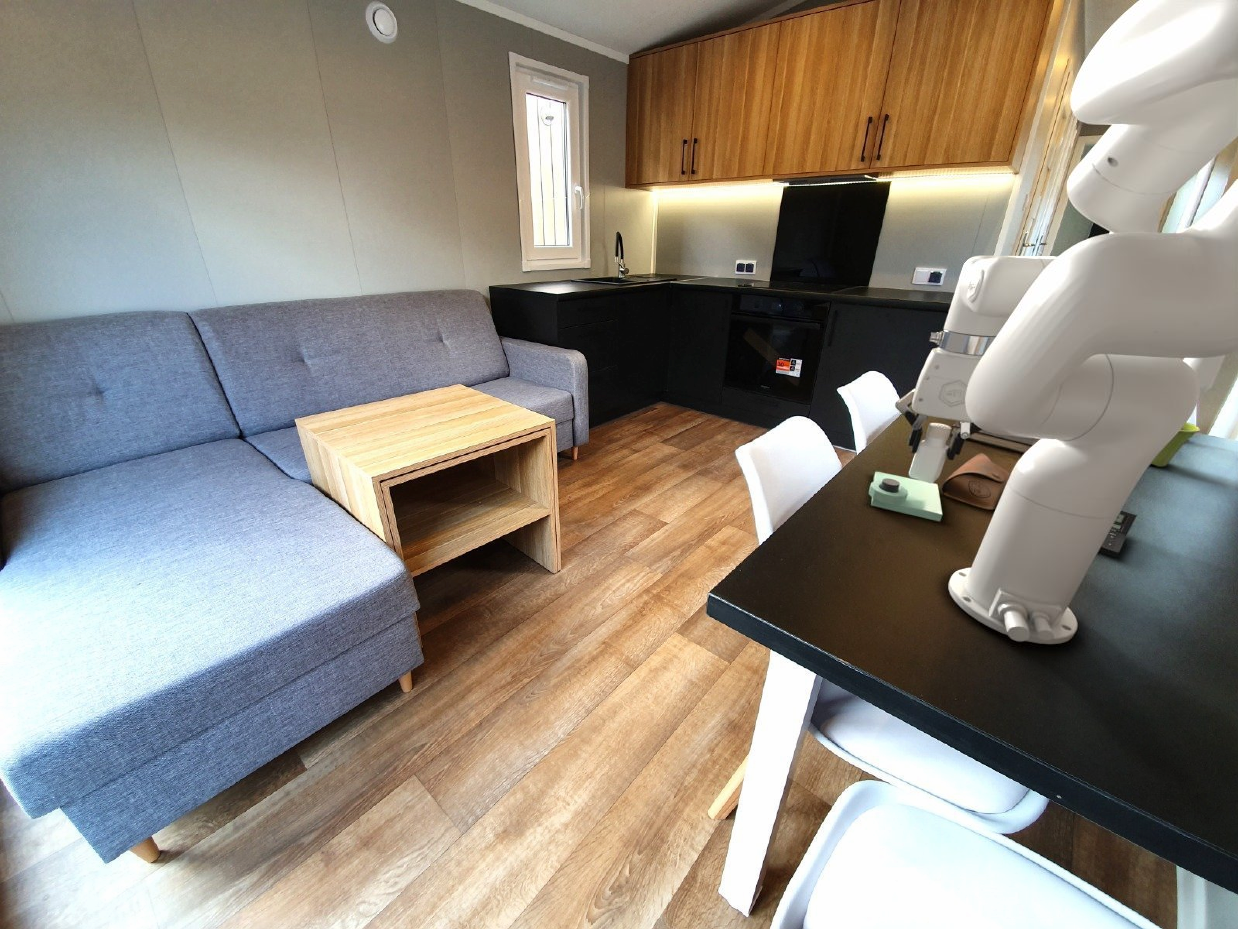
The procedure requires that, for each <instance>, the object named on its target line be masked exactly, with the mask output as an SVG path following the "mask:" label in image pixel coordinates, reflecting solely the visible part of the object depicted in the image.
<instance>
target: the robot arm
mask: <svg viewBox="0 0 1238 929" xmlns="http://www.w3.org/2000/svg"><path fill="white" fill-rule="evenodd" d="M1070 109H1071V111H1072V115H1073V117H1074V118H1076V119H1077V121H1079V122H1082V123H1084V124H1087V125H1103V126H1104V125H1106V126H1110V127H1109V128H1108V129H1107V130H1106V131H1105V132H1104V133H1103V135H1102V136H1101V137H1100V138H1099V139H1098V141H1097V142H1096V143H1095V145H1094V146H1092V148H1091V149H1090V150H1089V151H1088V152H1087V153H1086V155H1085V156H1084V157H1083V158H1082V159H1081V160H1080V162H1079V163H1078V164H1077V165H1076V166H1075V167H1074V168H1073V170H1072V172H1071V173H1070V175H1069V177H1068V179H1067V183H1066V194H1067V197H1068V199H1069V202H1070V203H1071V205H1072V206H1073V207H1074V208H1075V210H1077V212H1079V213H1080V214H1081V215H1082V216H1083V217H1085V218H1086V219H1087V220H1089V221H1090V222H1093V223H1094V224H1096V225H1098V226H1099V227H1101V228H1103V229H1105V230H1107V231H1108V232H1109V233H1104V234H1100V235H1095V236H1092V237H1089V238H1087V239H1084V240H1082V241H1079V242H1077V243H1076V244H1074V245H1072V246H1071V247H1069V248H1067V249H1066V250H1064V251H1063V252H1062V253H1061V254H1060V255H1058V256H1040V255H1039V256H1037V255H1034V256H1033V255H1032V256H1029V255H1028V256H1027V255H974V256H971V257H970V258H968V259H967V260H966V261H965V263H964V264H963V266H962V269H961V271H960V274H959V278H958V281H957V284H956V286H955V290H954V294H953V297H952V300H951V304H950V307H949V309H948V314H947V316H946V319H945V322H944V325H943V328H942V330H940V331H939V332H931V333H930V335H929V338H928V342H930V343H931V342H933V343H934V344H936V346H937V347H935V348H932V349H931V350H930V353H929V354H928V356H927V358H926V360H925V363H924V364H923V367H922V369H921V371H920V374H919V376H918V379H917V381H916V384H915V387H914V388H913V389H912V390H910V391H909V392H907V394H905V395H904V396H901V398H899V399H898V400H897V401H896V402H895V404H894V407H895V408H896V410H897V411H898V412H899V413H900V414H901V415H902V416H904V418H905V420H906V421H907V422H908V423H909V425H910V426H911V432H910V433H909V434H910V435H909V438H908V440H907V446H908V447H909V446H910V453H911V454H915V453H916V452H917V449H918V446H919V443H920V442H921V441H922V440H921V439H922V436H923V433H924V431H923V426H924V424H925V422H926V421H927V419H928V418H929V417H933V418H939V419H946V420H952V421H956V422H958V421H959V429H958V430H957V432H955V433H954V434H953V435H951V436H952V437H951V439H950V442H949V445H948V446H949V451H948V453H947V457H946V458H947V460H948V461H954V460H955V457H956V455H957V456H959V455H961V452H962V450H963V447H964V443H965V442H966V440H967V439H966V438H968V437H969V436H970V435H972V434H974V433H976V432H978V431H980V430H982V429H983V430H985V431H988V432H991V433H994V434H999V435H1006V436H1015V437H1026V438H1038V439H1040V440H1039V441H1038V442H1037V443H1035V444H1034V445H1033V446H1032V447H1031V448H1030V449H1029V450H1028V451H1027V452H1025V453H1024V454H1022V456H1021V457H1020V458H1019V459H1018V460H1017V462H1016V463H1015V465H1014V467H1013V468H1012V471H1011V472H1010V474H1011V475H1010V477H1009V480H1008V482H1007V484H1006V486H1005V489H1004V491H1003V493H1002V496H1001V497H1000V499H999V500H998V502H997V504H996V507H995V509H994V510H995V511H994V512H993V514H992V517H991V520H990V522H989V524H988V527H987V529H986V532H985V534H984V536H983V538H982V541H981V543H980V545H979V548H978V551H977V553H976V555H975V557H974V560H973V562H972V565H971V567H965V568H962V569H958V570H956V571H955V572H954V573H953V574H951V576H950V578H949V581H948V584H947V585H948V588H947V589H948V591H949V595H950V596H951V598H952V599H953V601H954V602H955V603H956V604H957V606H959V607H960V608H961V609H962V610H963V611H964V612H965V613H966V614H968V615H969V616H970V617H972V618H973V619H975V620H976V621H978V622H979V623H980V624H983V625H985V626H987V627H988V628H990V629H992V630H994V631H996V632H998V633H1001V634H1003V635H1006V636H1007V637H1009V638H1010V639H1011V640H1013V641H1016V642H1029V643H1035V644H1039V645H1040V644H1043V645H1044V644H1045V645H1056V644H1057V645H1058V644H1062V643H1066V642H1069V641H1070V640H1071V639H1072V638H1073V637H1074V635H1075V633H1076V632H1077V630H1078V627H1079V626H1078V621H1077V617H1076V616H1075V615H1074V612H1073V611H1072V610H1071V609H1070V608H1069V606H1070V604H1071V602H1072V600H1073V598H1074V596H1075V595H1076V593H1077V591H1078V589H1079V588H1080V585H1081V584H1082V582H1083V580H1084V578H1085V577H1086V575H1087V573H1088V571H1089V569H1090V567H1091V566H1092V564H1093V562H1094V561H1095V558H1096V556H1097V555H1098V554H1099V552H1098V551H1099V549H1100V547H1101V545H1102V544H1103V542H1104V540H1105V538H1106V536H1107V535H1108V533H1109V531H1110V529H1111V527H1112V525H1113V524H1114V522H1115V520H1116V518H1117V516H1118V515H1119V513H1120V512H1121V511H1123V508H1124V506H1125V504H1126V503H1127V501H1128V499H1129V498H1130V496H1131V494H1132V492H1133V491H1134V489H1135V487H1136V485H1137V484H1138V482H1139V481H1140V479H1141V477H1142V476H1143V474H1144V473H1145V471H1146V470H1147V469H1148V468H1149V466H1150V465H1152V464H1151V462H1152V461H1153V460H1154V458H1155V457H1156V456H1157V455H1158V454H1159V453H1160V451H1161V450H1162V449H1163V448H1164V447H1165V446H1166V445H1167V444H1168V443H1169V442H1170V441H1171V440H1172V439H1173V437H1174V436H1175V435H1176V434H1177V433H1178V432H1179V431H1180V430H1181V428H1182V427H1183V426H1184V425H1185V423H1186V422H1187V423H1188V421H1189V419H1190V417H1191V416H1192V415H1193V413H1194V411H1195V409H1196V407H1197V405H1198V402H1199V399H1200V398H1199V397H1200V394H1199V389H1200V388H1199V382H1198V378H1197V376H1196V374H1195V372H1194V371H1193V369H1192V368H1191V367H1190V366H1189V365H1188V364H1187V363H1186V362H1184V361H1183V360H1184V358H1209V357H1217V356H1222V355H1226V356H1227V355H1229V354H1232V353H1234V352H1238V178H1237V179H1236V180H1235V181H1234V182H1233V183H1232V185H1231V186H1229V188H1228V189H1227V190H1226V192H1225V193H1224V194H1223V195H1222V196H1221V197H1220V199H1218V200H1217V202H1215V204H1214V205H1213V206H1212V207H1210V209H1209V210H1208V211H1207V212H1205V213H1204V215H1202V217H1201V218H1199V219H1198V220H1197V221H1196V222H1194V223H1193V224H1192V225H1190V226H1189V227H1187V228H1184V229H1181V230H1179V231H1176V232H1159V226H1160V219H1159V218H1160V217H1159V210H1160V207H1161V206H1163V205H1164V203H1166V201H1168V200H1169V199H1170V198H1171V197H1173V195H1174V194H1176V193H1177V192H1178V191H1179V190H1181V188H1183V187H1184V186H1185V184H1187V182H1189V181H1190V180H1191V179H1192V178H1193V177H1194V176H1196V175H1197V174H1198V173H1199V172H1200V171H1201V170H1202V169H1203V168H1204V167H1205V166H1207V165H1208V164H1209V163H1210V162H1211V161H1212V160H1213V159H1214V158H1215V157H1216V156H1218V155H1219V154H1220V153H1221V152H1222V151H1223V150H1224V149H1225V148H1226V147H1227V146H1228V145H1230V144H1231V143H1232V142H1233V141H1234V140H1236V139H1237V137H1238V0H1138V1H1136V2H1135V3H1134V4H1133V5H1132V6H1130V7H1129V8H1128V9H1127V10H1126V11H1125V12H1124V13H1122V15H1120V16H1119V18H1117V19H1116V21H1115V22H1114V23H1113V24H1111V25H1110V27H1109V28H1108V29H1107V30H1106V31H1105V32H1104V33H1103V34H1102V36H1101V37H1100V38H1099V40H1098V41H1097V42H1096V43H1095V45H1094V46H1093V47H1092V49H1091V50H1090V52H1089V53H1088V54H1087V56H1086V58H1085V60H1084V61H1083V63H1082V65H1081V67H1080V69H1079V70H1078V73H1077V75H1076V78H1075V80H1074V83H1073V86H1072V90H1071V94H1070ZM910 404H911V408H909V406H908V405H910ZM915 413H916V414H915ZM970 422H972V423H970Z"/></svg>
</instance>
